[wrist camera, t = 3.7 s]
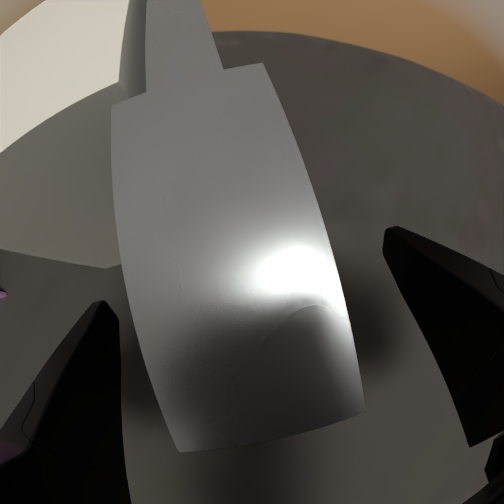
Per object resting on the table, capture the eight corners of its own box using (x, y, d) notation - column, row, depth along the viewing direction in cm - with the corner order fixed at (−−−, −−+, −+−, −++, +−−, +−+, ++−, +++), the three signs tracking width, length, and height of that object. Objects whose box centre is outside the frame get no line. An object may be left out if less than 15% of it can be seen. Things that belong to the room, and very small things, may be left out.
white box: (223, 236, 16) (127, 77, 3) (105, 268, 16) (-73, 230, 3) (192, 95, 18) (146, -52, 5) (97, 130, 17) (4, 27, 5)
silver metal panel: (280, 316, 15) (365, 411, 3) (239, 326, 15) (178, 452, 3) (221, 95, 17) (193, -58, 5) (188, 104, 17) (137, -43, 5)
